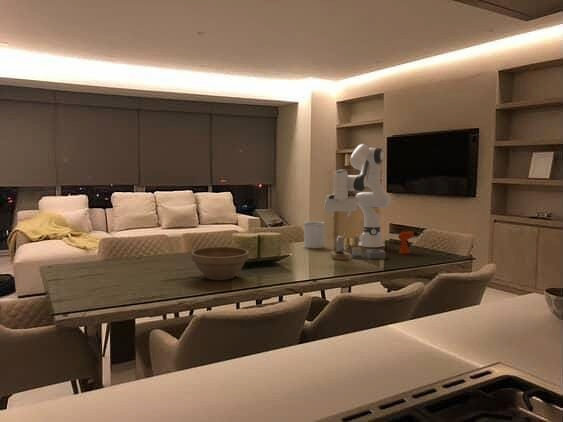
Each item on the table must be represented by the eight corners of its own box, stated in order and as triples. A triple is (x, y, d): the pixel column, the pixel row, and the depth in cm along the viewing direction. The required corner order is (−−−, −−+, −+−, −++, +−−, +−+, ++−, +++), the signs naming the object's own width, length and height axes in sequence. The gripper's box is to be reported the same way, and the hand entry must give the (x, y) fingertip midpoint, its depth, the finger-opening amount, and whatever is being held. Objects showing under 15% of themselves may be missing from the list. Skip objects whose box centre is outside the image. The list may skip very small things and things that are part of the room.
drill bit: (335, 257, 286) (336, 235, 285) (342, 257, 286) (342, 235, 285) (336, 258, 282) (337, 236, 281) (343, 258, 282) (343, 236, 281)
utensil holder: (301, 245, 332) (302, 221, 330) (322, 245, 333) (322, 221, 332) (305, 248, 317) (305, 223, 316) (326, 248, 319) (326, 223, 317)
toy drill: (427, 250, 303) (425, 228, 301) (401, 255, 299) (399, 232, 297) (423, 249, 307) (421, 227, 306) (397, 254, 304) (395, 231, 302)
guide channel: (347, 254, 296) (347, 252, 296) (359, 254, 296) (359, 252, 296) (351, 258, 282) (351, 256, 281) (364, 258, 282) (364, 256, 282)
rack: (330, 256, 289) (330, 251, 288) (346, 256, 289) (346, 251, 289) (332, 259, 279) (332, 254, 278) (349, 259, 279) (349, 254, 279)
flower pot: (254, 281, 221) (254, 254, 220) (194, 285, 213) (194, 257, 212) (242, 269, 248) (242, 245, 247) (189, 272, 240) (188, 247, 239)
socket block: (366, 255, 291) (366, 249, 291) (381, 255, 291) (381, 249, 291) (369, 258, 281) (369, 252, 281) (385, 258, 281) (385, 252, 281)
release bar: (352, 256, 288) (352, 247, 287) (360, 256, 288) (360, 247, 288) (353, 257, 284) (353, 248, 283) (361, 257, 284) (361, 248, 284)
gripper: (356, 195, 284) (356, 218, 285) (323, 195, 283) (323, 218, 285) (358, 196, 278) (358, 219, 279) (324, 196, 277) (324, 219, 278)
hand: (340, 218), depth 282 cm, fingers open, 8 cm apart
